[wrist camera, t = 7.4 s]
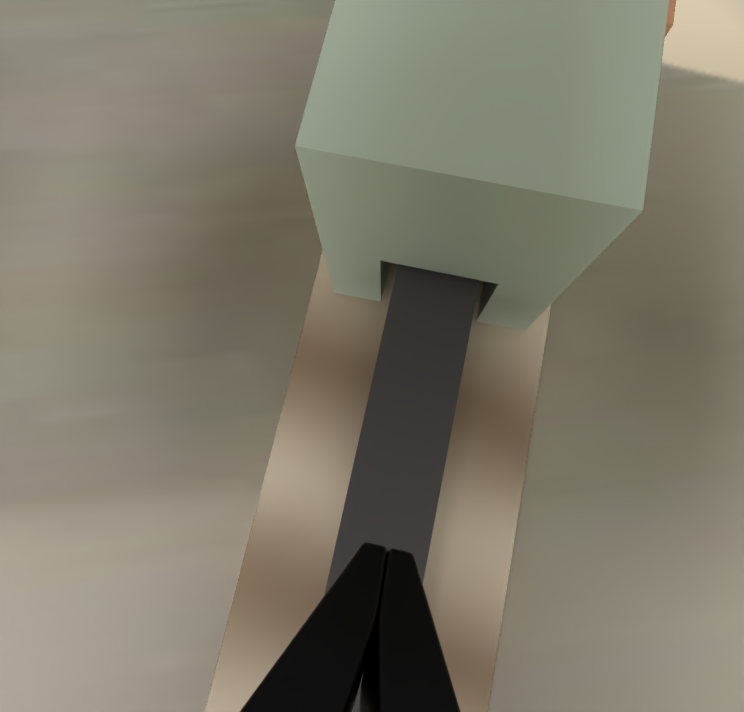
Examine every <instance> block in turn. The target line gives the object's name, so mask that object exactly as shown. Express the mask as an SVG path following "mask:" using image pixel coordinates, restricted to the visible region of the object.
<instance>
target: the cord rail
mask: <svg viewBox="0 0 744 712" xmlns="http://www.w3.org/2000/svg"><path fill="white" fill-rule="evenodd" d="M479 282H480V280H476V279H471V278H466V277H461V276H456V275H451V274H446V273H441V272H436V271H431V270H426V269H421V268H415V267H410V266H405V265H400V264H398V266H397V271H396V275H395V280H394V284H393V289H392V293H391V298H390V302H389V307H388V311H387V316H386V320H385V324H384V329H383V333H382V338H381V342H380V347H379V351H378V356H377V360H376V365H375V369H374V374H373V378H372V383H371V387H370V392H369V396H368V401H367V405H366V410H365V414H364V419H363V423H362V428H361V432H360V437H359V441H358V446H357V450H356V455H355V459H354V464H353V468H352V473H351V477H350V482H349V486H348V491H347V495H346V500H345V504H344V508H343V513H342V517H341V522H340V526H339V531H338V535H337V540H336V544H335V549H334V553H333V558H332V562H331V567H330V571H329V576H328V580H327V585H326V589H325V594H326V593H327V591H328V590H329V588H330V587H331V586H332V584H333V583H334V582H335V580H336V579H337V577H338V576H339V575H340V573H341V572H342V571H343V569H344V568H345V566H346V565H347V564H348V562H349V561H350V560H351V558H352V557H353V555H354V554H355V553H356V551H357V550H358V549H359V547H360V546H361V545H362V544H363V543H365V542H369V543H373V544H377V545H381V546H384V547H386V548H387V552H388V550H389V549H391V548H394V549H398V550H403V551H407V552H410V553H412V554H413V555H414V557H415V560H416V563H417V567H418V570H419V573H420V577H421V580H422V583H423V580H424V575H425V570H426V564H427V559H428V554H429V548H430V543H431V538H432V532H433V527H434V522H435V516H436V511H437V506H438V500H439V495H440V490H441V484H442V479H443V474H444V468H445V463H446V458H447V452H448V447H449V442H450V436H451V431H452V426H453V420H454V415H455V410H456V404H457V399H458V394H459V388H460V383H461V378H462V372H463V367H464V362H465V356H466V351H467V346H468V340H469V335H470V330H471V324H472V319H473V314H474V308H475V303H476V298H477V292H478V287H479ZM325 594H324V595H325ZM362 675H363V674H362ZM361 682H362V678H361ZM361 682H360V686H359V690H358V694H357V697H356V701H355V704H354V707H353V711H352V712H358V708H359V698H360V688H361Z"/></svg>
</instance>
